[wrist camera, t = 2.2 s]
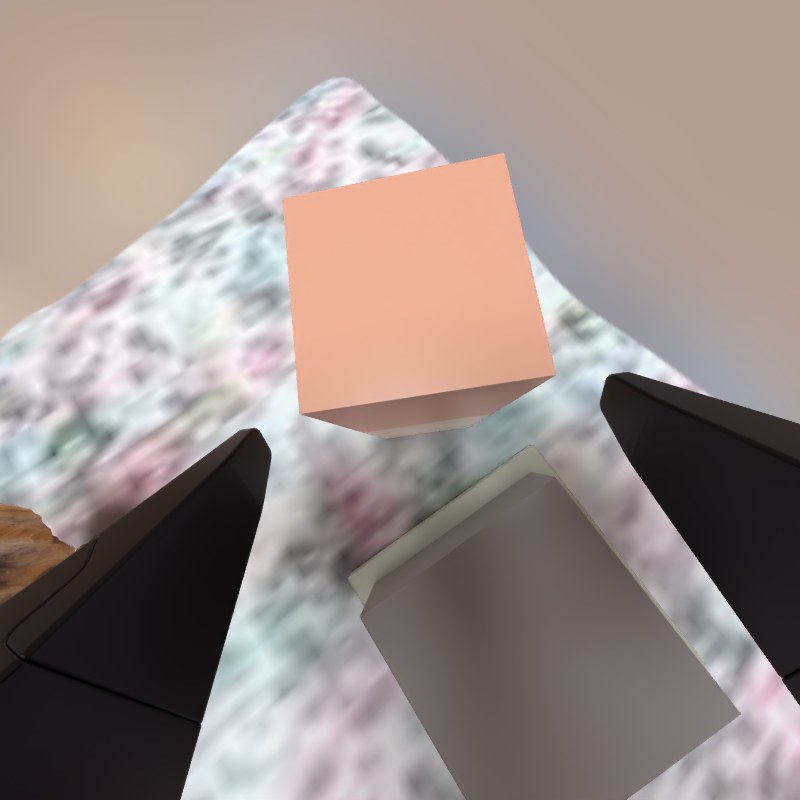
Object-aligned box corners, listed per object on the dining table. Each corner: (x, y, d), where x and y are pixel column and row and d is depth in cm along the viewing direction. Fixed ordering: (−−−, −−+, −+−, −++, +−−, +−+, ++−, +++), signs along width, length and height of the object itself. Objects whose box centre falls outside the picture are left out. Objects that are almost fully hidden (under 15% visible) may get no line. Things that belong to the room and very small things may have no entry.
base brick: (691, 652, 15) (786, 725, 11) (487, 802, 15) (509, 931, 11) (528, 445, 17) (558, 443, 13) (351, 572, 17) (327, 608, 13)
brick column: (471, 426, 18) (556, 374, 6) (385, 438, 18) (299, 414, 6) (456, 343, 18) (503, 153, 7) (375, 357, 19) (282, 199, 7)
